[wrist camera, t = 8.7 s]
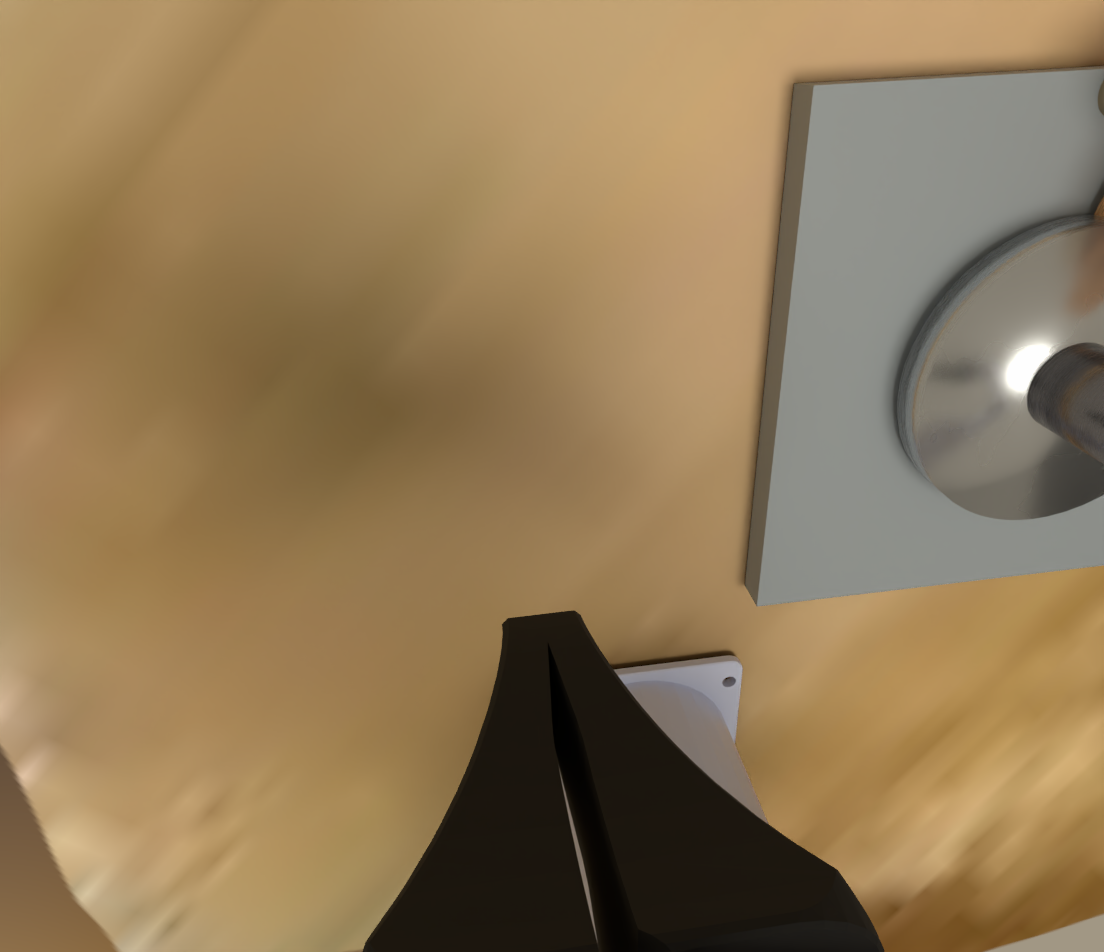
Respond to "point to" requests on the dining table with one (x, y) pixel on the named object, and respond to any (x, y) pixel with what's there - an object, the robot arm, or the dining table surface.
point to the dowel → (1101, 98)
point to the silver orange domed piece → (1014, 377)
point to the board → (901, 320)
